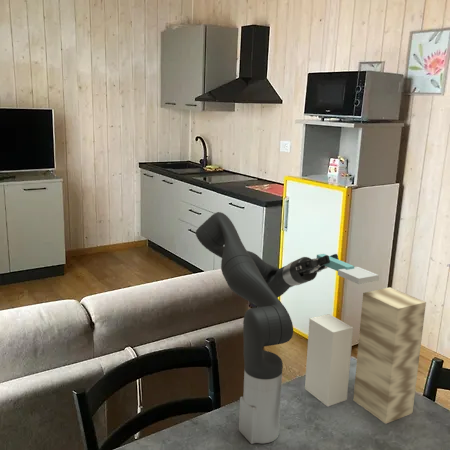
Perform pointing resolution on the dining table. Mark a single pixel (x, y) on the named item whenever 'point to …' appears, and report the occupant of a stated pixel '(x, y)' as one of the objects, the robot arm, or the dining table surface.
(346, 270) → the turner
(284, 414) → the dining table surface
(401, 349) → the tall wooden block
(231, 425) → the dining table surface
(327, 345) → the white block
